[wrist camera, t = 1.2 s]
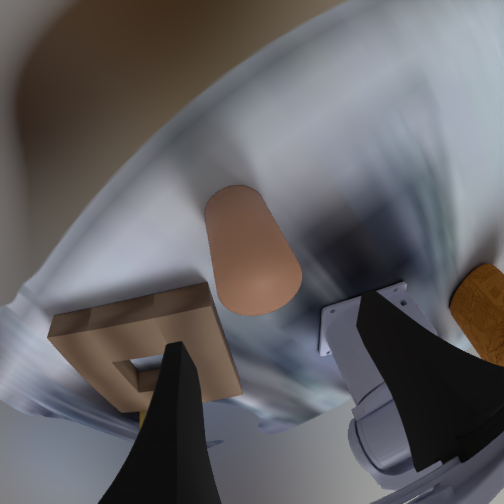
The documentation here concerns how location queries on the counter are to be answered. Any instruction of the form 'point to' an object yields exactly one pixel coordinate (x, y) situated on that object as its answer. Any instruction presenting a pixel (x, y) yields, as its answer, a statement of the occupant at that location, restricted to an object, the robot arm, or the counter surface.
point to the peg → (249, 253)
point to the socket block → (146, 344)
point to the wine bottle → (482, 311)
